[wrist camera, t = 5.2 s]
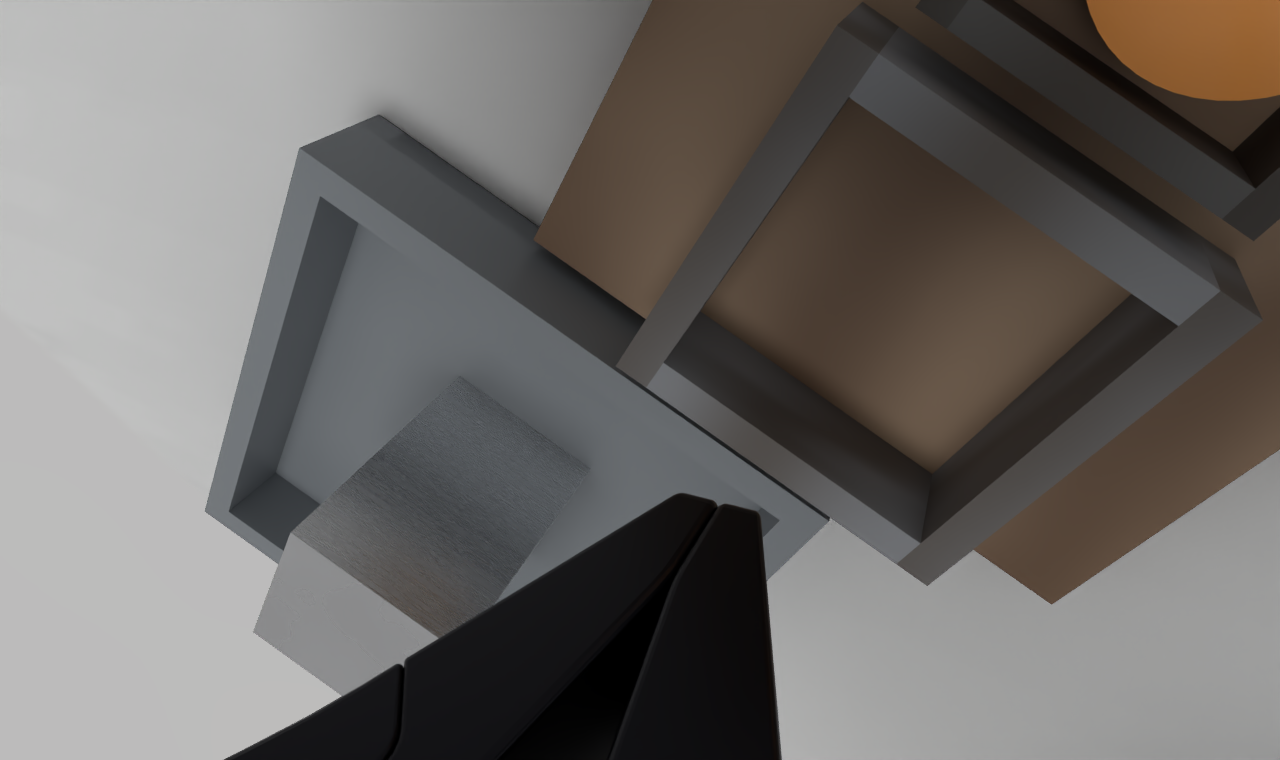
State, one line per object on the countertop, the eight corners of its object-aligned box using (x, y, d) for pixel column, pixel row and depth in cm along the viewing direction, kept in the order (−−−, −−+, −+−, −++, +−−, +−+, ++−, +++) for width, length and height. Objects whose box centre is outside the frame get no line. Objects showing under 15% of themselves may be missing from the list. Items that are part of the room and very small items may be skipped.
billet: (590, 468, 25) (459, 652, 19) (530, 554, 27) (400, 737, 22) (459, 375, 25) (290, 532, 19) (412, 470, 27) (253, 631, 22)
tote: (851, 447, 22) (828, 520, 20) (605, 699, 31) (568, 771, 29) (378, 114, 22) (299, 148, 20) (268, 459, 31) (204, 511, 29)
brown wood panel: (1875, -17, 12) (2141, 29, 9) (1051, 570, 22) (1053, 685, 19) (984, -619, 12) (967, -762, 10) (555, 222, 22) (480, 282, 19)
